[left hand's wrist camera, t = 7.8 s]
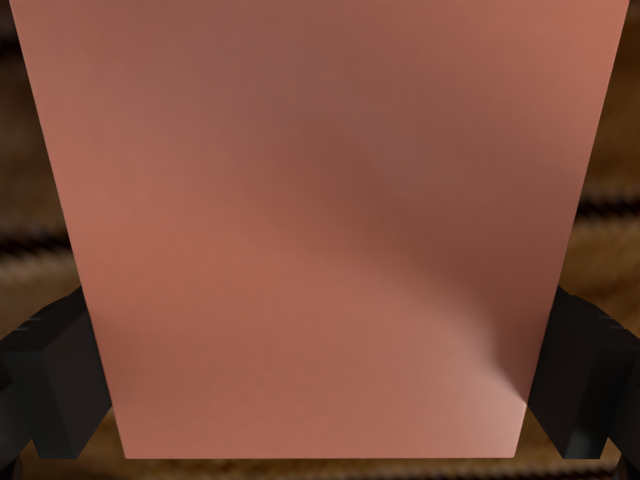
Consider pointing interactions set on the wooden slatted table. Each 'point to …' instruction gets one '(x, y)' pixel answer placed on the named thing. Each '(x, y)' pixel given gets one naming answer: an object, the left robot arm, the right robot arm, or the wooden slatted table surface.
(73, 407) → the left robot arm
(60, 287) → the wooden slatted table surface
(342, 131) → the cabinet
